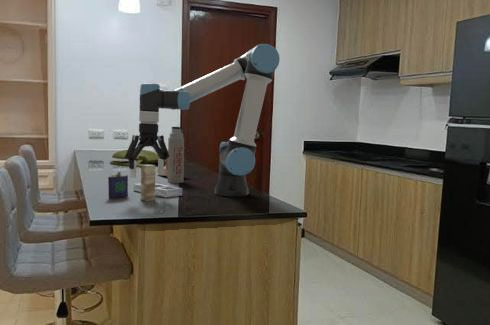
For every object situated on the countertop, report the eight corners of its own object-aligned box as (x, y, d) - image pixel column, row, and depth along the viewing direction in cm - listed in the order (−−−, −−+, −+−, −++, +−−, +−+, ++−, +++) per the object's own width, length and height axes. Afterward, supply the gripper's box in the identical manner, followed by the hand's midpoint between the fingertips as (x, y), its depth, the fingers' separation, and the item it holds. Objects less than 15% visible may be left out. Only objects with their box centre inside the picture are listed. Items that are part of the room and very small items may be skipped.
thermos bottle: (184, 182, 234) (185, 127, 231) (168, 182, 232) (169, 126, 229) (182, 180, 242) (183, 126, 239) (166, 180, 240) (167, 126, 237)
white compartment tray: (182, 195, 199) (182, 188, 199) (165, 197, 192) (166, 190, 192) (149, 188, 213) (149, 182, 213) (133, 190, 206) (133, 183, 206)
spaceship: (173, 165, 314) (173, 150, 313) (140, 168, 288) (140, 153, 287) (135, 160, 332) (136, 147, 331) (101, 163, 306) (101, 149, 305)
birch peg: (155, 199, 187) (155, 165, 185) (146, 201, 184) (147, 166, 182) (148, 198, 189) (149, 164, 188) (140, 199, 186) (141, 165, 185)
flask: (125, 195, 194) (125, 170, 192) (129, 196, 192) (130, 171, 191) (106, 198, 186) (107, 172, 185) (111, 199, 184) (111, 172, 183)
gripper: (167, 123, 195) (165, 173, 197) (116, 121, 176) (114, 177, 178) (179, 124, 190) (177, 175, 193) (128, 122, 171) (126, 179, 173)
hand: (147, 176), depth 185 cm, fingers open, 13 cm apart
